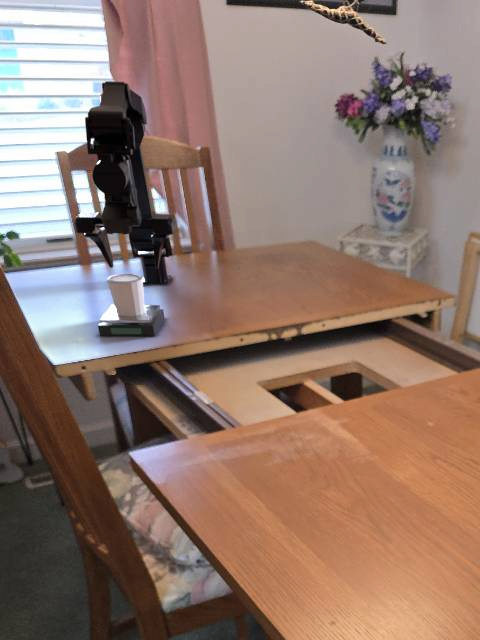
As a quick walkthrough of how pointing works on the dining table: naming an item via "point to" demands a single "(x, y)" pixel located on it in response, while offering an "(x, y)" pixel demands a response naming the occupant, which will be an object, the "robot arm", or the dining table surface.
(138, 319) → the scale pan
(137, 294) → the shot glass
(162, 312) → the scale
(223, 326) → the dining table surface
